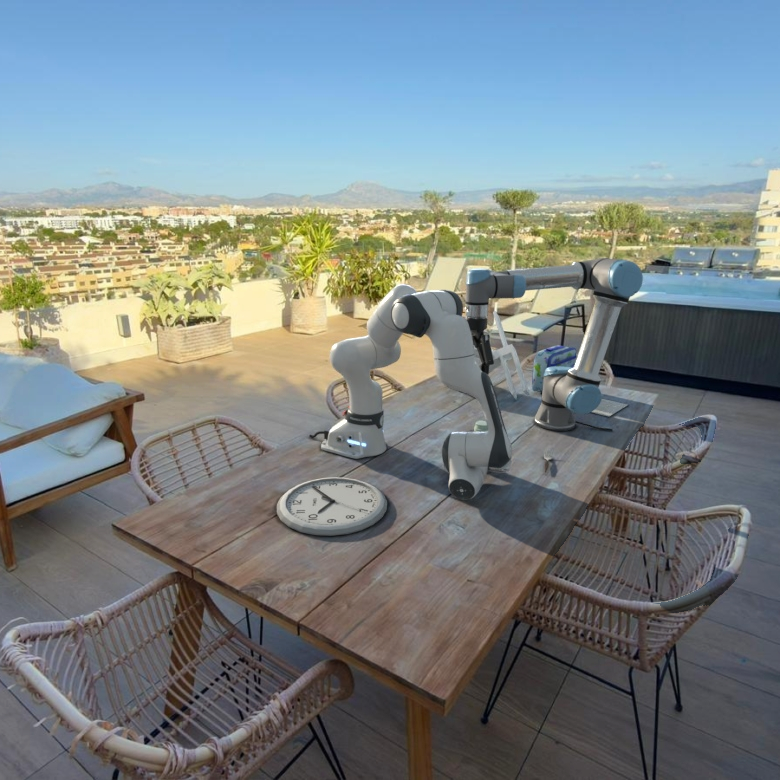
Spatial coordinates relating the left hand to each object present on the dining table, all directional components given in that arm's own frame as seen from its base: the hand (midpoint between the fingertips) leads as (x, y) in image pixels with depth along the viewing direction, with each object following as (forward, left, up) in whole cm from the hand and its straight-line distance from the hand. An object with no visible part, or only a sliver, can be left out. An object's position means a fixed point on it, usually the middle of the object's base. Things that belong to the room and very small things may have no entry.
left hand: (481, 448), depth 166 cm
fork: (+20, +9, -6) cm, 23 cm away
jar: (0, -1, -6) cm, 6 cm away
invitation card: (+39, +78, -6) cm, 87 cm away
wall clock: (-33, -40, -6) cm, 52 cm away
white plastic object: (-14, +78, -6) cm, 80 cm away
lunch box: (+17, +95, -6) cm, 96 cm away
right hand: (-7, +17, +18) cm, 26 cm away
